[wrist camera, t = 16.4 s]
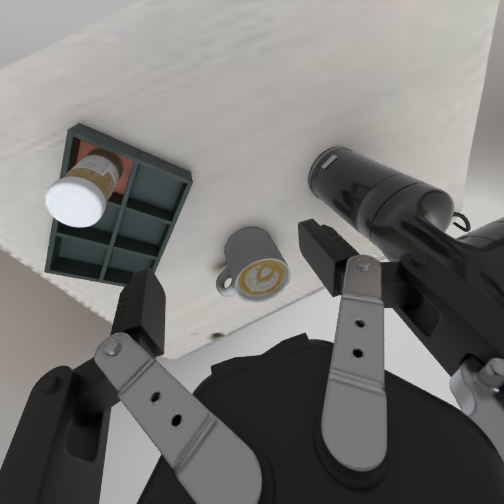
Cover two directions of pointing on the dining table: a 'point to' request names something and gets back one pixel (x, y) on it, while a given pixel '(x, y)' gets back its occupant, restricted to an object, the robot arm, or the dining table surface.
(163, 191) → the rack
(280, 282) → the coffee mug
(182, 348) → the dining table surface
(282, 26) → the dining table surface
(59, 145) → the dining table surface
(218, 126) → the dining table surface
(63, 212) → the sprinkles bottle
